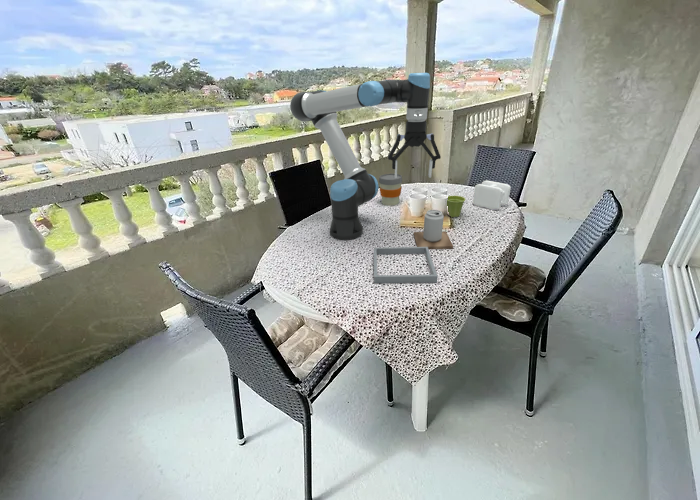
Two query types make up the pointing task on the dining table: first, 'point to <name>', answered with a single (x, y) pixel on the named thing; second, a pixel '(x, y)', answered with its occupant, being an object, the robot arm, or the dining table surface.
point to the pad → (441, 244)
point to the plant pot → (455, 205)
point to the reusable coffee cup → (390, 189)
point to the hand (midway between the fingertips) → (412, 176)
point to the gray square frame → (405, 278)
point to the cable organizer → (491, 194)
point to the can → (433, 225)
